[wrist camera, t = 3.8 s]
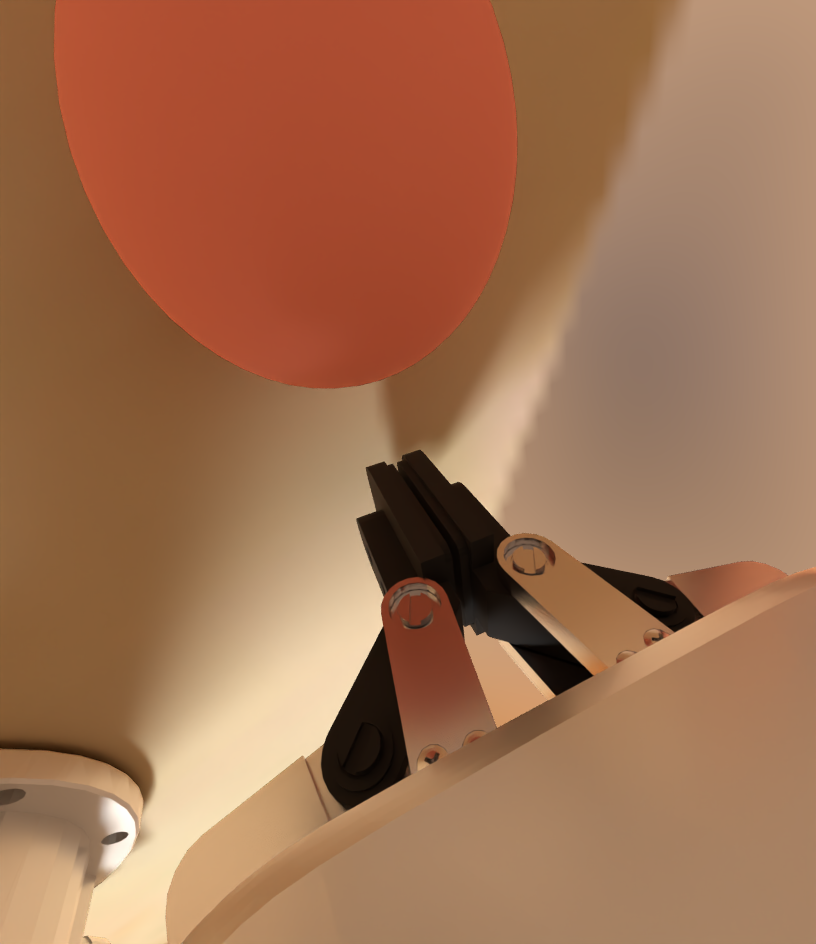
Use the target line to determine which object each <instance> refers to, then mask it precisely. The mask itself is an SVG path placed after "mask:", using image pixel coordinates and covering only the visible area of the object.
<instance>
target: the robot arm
mask: <svg viewBox="0 0 816 944" xmlns="http://www.w3.org/2000/svg"><path fill="white" fill-rule="evenodd" d="M397 467H398V471H397V469H396V468H395V466H394V465H393V464H391V465H388V466H387V464H386V463H385V462H381V463H378V464H375V465H372V466H369V467H366V471H367V476H368V480H369V484H370V488H371V492H372V496H373V500H374V504H375V508H376V512H373V513H371V514H368V515H365V516H362V517H359V518H357V519H356V520H357V524H358V528H359V531H360V534H361V538H362V541H363V544H364V547H365V550H366V553H367V555H368V558H369V561H370V563H371V566H372V569H373V571H374V573H375V576H376V578H377V581H378V583H379V586H380V588H381V591H382V593H383V596H384V599H383V601H382V604H381V615H382V621H383V628H382V630H381V631H380V633H379V635H378V637H377V639H376V641H375V643H374V645H373V647H372V649H371V651H370V653H369V655H368V657H367V659H366V661H365V663H364V665H363V666H362V668H361V670H360V672H359V674H358V676H357V678H356V680H355V682H354V684H353V686H352V688H351V690H350V692H349V694H348V696H347V698H346V700H345V701H344V703H343V705H342V707H341V709H340V711H339V713H338V715H337V717H336V719H335V721H334V723H333V725H332V727H331V729H330V731H329V733H328V735H327V737H326V740H325V743H324V744H323V745H322V746H321V747H320V748H318V749H317V750H316V751H315V752H313V753H312V754H311V755H310V756H308V757H307V758H306V759H305V758H304V756H301V757H300V758H299V759H297V760H296V761H295V762H294V763H292V764H291V765H290V766H289V767H287V768H286V769H285V770H284V771H282V772H281V773H280V774H279V775H277V776H276V777H275V778H274V779H272V780H271V781H270V782H269V783H267V784H266V785H265V786H263V787H262V788H261V789H260V790H258V791H257V792H256V793H255V794H253V795H252V796H251V797H250V798H248V799H247V800H246V801H245V802H243V803H242V804H241V805H240V806H238V807H237V808H236V809H235V810H233V811H232V812H231V813H230V814H228V815H227V816H226V817H224V818H223V819H222V820H221V821H219V822H218V823H217V824H216V825H214V826H213V827H212V828H211V829H209V830H208V831H207V832H206V833H204V834H203V835H202V836H201V837H200V838H199V839H198V840H197V841H196V842H195V843H194V844H193V845H192V846H191V847H190V848H189V849H188V850H187V852H186V854H185V855H184V857H183V859H182V860H181V862H180V864H179V865H178V867H177V869H176V870H175V873H174V876H173V879H172V882H171V885H170V888H169V891H168V894H167V905H166V928H167V941H168V944H816V567H813V568H809V569H806V570H803V571H800V572H796V573H794V574H791V575H787V574H786V573H784V572H782V571H781V570H779V569H777V568H775V567H772V566H770V565H767V564H764V563H759V562H754V561H741V562H736V563H731V564H726V565H721V566H716V567H711V568H706V569H701V570H696V571H691V572H686V573H681V574H676V575H671V576H668V577H667V580H666V581H663V580H660V579H656V578H653V577H649V576H644V575H639V574H635V573H630V572H624V571H620V570H615V569H610V568H605V567H600V566H595V565H590V564H586V563H581V562H579V561H578V560H576V559H575V558H574V557H572V556H571V555H570V554H568V553H567V552H566V551H564V550H563V549H561V548H560V547H559V546H558V545H556V544H555V543H554V542H552V541H551V540H549V539H547V538H545V537H543V536H540V535H537V534H531V533H530V534H529V533H521V534H515V535H512V536H510V535H509V534H508V533H507V532H506V531H505V529H504V528H503V527H502V526H501V525H500V524H499V523H498V522H497V521H496V520H495V518H494V517H493V516H492V515H491V514H490V513H489V512H488V511H487V510H486V509H485V508H484V506H483V505H482V504H481V503H480V502H479V501H478V500H477V499H476V498H475V497H474V496H473V494H472V493H471V492H470V491H469V490H468V489H467V488H466V487H465V486H464V485H463V484H462V483H460V482H457V483H454V484H450V483H449V482H448V481H447V479H446V478H445V477H444V476H443V475H442V474H441V472H440V471H439V470H438V469H437V468H436V467H435V466H434V464H433V463H432V462H431V461H430V460H429V459H428V457H427V456H426V455H425V454H424V453H423V452H422V451H421V450H417V451H414V452H411V453H408V454H405V455H403V456H402V461H400V462H397ZM463 625H464V626H465V627H466V626H468V625H471V627H472V628H473V630H474V632H475V633H476V635H479V634H481V633H483V632H486V633H487V635H488V636H489V637H492V638H496V639H499V643H500V644H501V646H502V647H503V649H504V650H505V651H506V653H507V654H508V655H509V656H510V657H511V658H512V660H513V661H514V662H515V663H516V664H517V666H518V667H519V668H520V669H521V670H522V671H523V673H524V674H525V675H526V676H527V677H528V678H529V680H530V681H531V682H532V683H533V684H534V685H535V686H536V688H537V689H538V690H539V691H540V692H541V694H542V695H543V696H544V697H545V698H546V699H547V701H546V702H544V703H543V704H541V705H539V706H537V707H535V708H533V709H532V710H530V711H528V712H526V713H524V714H522V715H520V716H519V717H517V718H515V719H513V720H511V721H509V722H508V723H506V724H504V725H502V726H500V727H498V728H497V727H496V724H495V722H494V719H493V716H492V713H491V711H490V708H489V705H488V703H487V700H486V697H485V695H484V692H483V690H482V687H481V684H480V682H479V679H478V676H477V673H476V671H475V668H474V666H473V663H472V660H471V657H470V655H469V652H468V649H467V647H466V644H465V640H464V629H463ZM142 809H143V798H142V795H141V792H140V788H139V787H138V786H137V785H136V784H135V782H134V781H133V780H132V779H131V778H130V777H129V776H128V775H127V774H125V773H123V772H122V771H120V770H118V769H116V768H114V767H113V766H111V765H109V764H107V763H104V762H101V761H97V760H94V759H91V758H87V757H84V756H81V755H75V754H68V753H61V752H54V751H47V750H25V749H0V944H111V943H110V942H109V941H108V940H107V939H106V938H101V937H93V936H84V937H83V933H84V929H85V924H86V920H87V915H88V911H89V906H90V902H91V897H92V893H93V888H95V887H96V886H98V885H99V884H100V883H102V882H103V881H104V880H105V879H106V878H107V877H108V876H109V875H110V874H111V873H112V872H113V871H114V870H115V869H116V868H117V867H119V866H120V864H121V863H122V862H123V861H124V859H125V858H126V857H127V855H128V854H129V853H130V851H131V850H132V848H133V847H134V845H135V842H136V839H137V837H138V834H139V830H140V823H141V816H142Z"/></svg>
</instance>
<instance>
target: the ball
mask: <svg viewBox="0 0 816 944" xmlns="http://www.w3.org/2000/svg"><path fill="white" fill-rule="evenodd" d="M54 62H55V71H56V80H57V88H58V97H59V105H60V110H61V114H62V118H63V122H64V127H65V131H66V135H67V139H68V144H69V148H70V151H71V154H72V157H73V160H74V162H75V165H76V168H77V171H78V174H79V177H80V179H81V182H82V185H83V188H84V191H85V193H86V195H87V197H88V199H89V201H90V203H91V205H92V207H93V210H94V212H95V214H96V216H97V218H98V220H99V222H100V224H101V226H102V228H103V230H104V232H105V234H106V235H107V237H108V238H109V240H110V242H111V243H112V245H113V247H114V248H115V250H116V251H117V253H118V255H119V256H120V258H121V260H122V261H123V263H124V264H125V266H126V267H127V268H128V270H129V271H130V272H131V273H132V275H133V276H134V277H135V279H136V280H137V281H138V283H139V284H140V285H141V286H142V288H143V289H144V290H145V292H146V293H147V294H148V295H149V296H150V297H151V298H152V299H153V300H154V302H155V303H156V304H157V305H158V306H159V307H160V308H161V309H162V310H163V311H164V312H165V313H166V314H167V315H168V316H169V317H170V319H172V320H173V321H174V322H175V323H176V324H177V325H179V326H180V327H181V328H182V329H183V330H184V331H186V332H187V333H188V334H189V335H190V336H191V337H193V338H194V339H195V340H196V341H198V342H199V343H201V344H202V345H204V346H205V347H207V348H208V349H209V350H211V351H212V352H214V353H215V354H217V355H218V356H220V357H222V358H223V359H225V360H227V361H229V362H231V363H233V364H235V365H236V366H238V367H240V368H242V369H244V370H246V371H249V372H251V373H254V374H256V375H259V376H261V377H264V378H266V379H270V380H274V381H277V382H281V383H285V384H288V385H294V386H301V387H308V388H343V387H351V386H360V385H364V384H368V383H372V382H376V381H380V380H382V379H385V378H387V377H390V376H392V375H395V374H397V373H399V372H401V371H403V370H405V369H407V368H409V367H410V366H412V365H414V364H416V363H417V362H419V361H420V360H421V359H423V358H424V357H426V356H427V355H428V354H430V353H431V352H432V351H433V350H435V349H436V348H437V347H438V346H439V345H440V344H441V343H442V342H443V341H444V340H445V339H447V338H448V337H449V336H450V335H451V334H452V333H453V332H454V330H455V329H456V328H457V327H458V326H459V325H460V323H461V322H462V321H463V320H464V319H465V318H466V316H467V315H468V313H469V312H470V310H471V309H472V307H473V306H474V304H475V303H476V302H477V300H478V298H479V296H480V295H481V293H482V291H483V289H484V287H485V285H486V284H487V282H488V280H489V278H490V275H491V273H492V271H493V268H494V266H495V264H496V261H497V259H498V256H499V253H500V250H501V247H502V244H503V240H504V237H505V234H506V230H507V226H508V221H509V216H510V212H511V207H512V203H513V196H514V188H515V180H516V168H517V122H516V107H515V100H514V92H513V85H512V77H511V73H510V68H509V64H508V59H507V55H506V50H505V46H504V42H503V38H502V35H501V32H500V29H499V26H498V23H497V20H496V16H495V13H494V10H493V7H492V5H491V2H490V0H56V6H55V28H54Z"/></svg>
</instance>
